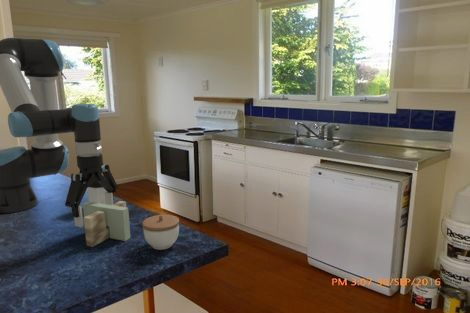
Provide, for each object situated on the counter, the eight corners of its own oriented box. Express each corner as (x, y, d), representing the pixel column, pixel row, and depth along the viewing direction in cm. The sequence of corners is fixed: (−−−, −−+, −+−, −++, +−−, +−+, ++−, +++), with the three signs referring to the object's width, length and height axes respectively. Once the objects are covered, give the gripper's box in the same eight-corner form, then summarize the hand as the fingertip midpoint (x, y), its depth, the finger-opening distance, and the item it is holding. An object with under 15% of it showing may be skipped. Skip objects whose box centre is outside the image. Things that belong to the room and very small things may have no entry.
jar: (92, 213, 136) (89, 182, 134) (87, 207, 143) (84, 178, 141) (116, 208, 141) (113, 178, 139) (110, 203, 148) (108, 174, 145)
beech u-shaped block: (93, 246, 109) (90, 218, 107) (86, 245, 110) (83, 217, 108) (127, 226, 123) (125, 201, 121) (121, 225, 124) (119, 200, 122)
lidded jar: (163, 256, 102) (161, 225, 100) (136, 248, 108) (134, 218, 106) (187, 242, 111) (186, 213, 109) (161, 234, 117) (159, 207, 115)
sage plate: (85, 233, 119) (82, 204, 117) (91, 230, 121) (88, 201, 119) (125, 240, 113) (122, 210, 111) (130, 237, 115) (128, 207, 113)
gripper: (66, 164, 100) (74, 235, 105) (125, 147, 123) (129, 207, 127) (46, 161, 103) (54, 231, 108) (108, 146, 126) (112, 204, 130)
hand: (95, 218), depth 118 cm, fingers open, 13 cm apart
